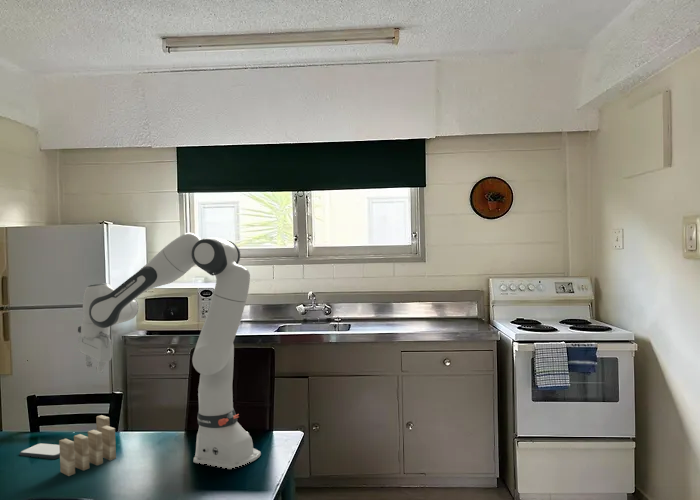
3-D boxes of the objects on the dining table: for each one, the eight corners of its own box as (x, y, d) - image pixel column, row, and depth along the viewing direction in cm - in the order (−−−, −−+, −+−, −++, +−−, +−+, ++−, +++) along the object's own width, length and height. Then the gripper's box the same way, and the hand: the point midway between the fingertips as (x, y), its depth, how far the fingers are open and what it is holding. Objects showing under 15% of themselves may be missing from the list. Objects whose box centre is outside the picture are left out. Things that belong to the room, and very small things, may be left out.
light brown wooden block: (94, 459, 176) (93, 429, 176) (103, 463, 173) (101, 432, 173) (88, 461, 175) (87, 431, 174) (97, 465, 172) (95, 434, 171)
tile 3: (81, 464, 173) (80, 433, 172) (89, 468, 170) (88, 437, 169) (75, 466, 171) (73, 435, 171) (83, 470, 168) (81, 439, 168)
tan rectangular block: (107, 455, 180) (106, 425, 180) (116, 458, 177) (114, 428, 177) (102, 457, 178) (100, 427, 178) (110, 460, 175) (109, 430, 175)
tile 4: (67, 469, 169) (65, 438, 169) (75, 473, 166) (73, 441, 166) (60, 472, 167) (59, 440, 167) (68, 476, 164) (67, 443, 164)
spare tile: (102, 442, 191) (101, 415, 191) (110, 445, 188) (109, 417, 188) (97, 444, 189) (96, 416, 189) (104, 447, 186) (103, 419, 186)
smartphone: (17, 457, 182) (55, 460, 177) (17, 452, 182) (54, 455, 177) (39, 447, 190) (76, 450, 186) (39, 442, 190) (75, 445, 186)
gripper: (117, 333, 181) (116, 374, 181) (93, 325, 195) (92, 363, 195) (98, 335, 176) (96, 377, 176) (75, 326, 190) (73, 365, 190)
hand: (94, 369), depth 186 cm, fingers open, 8 cm apart
